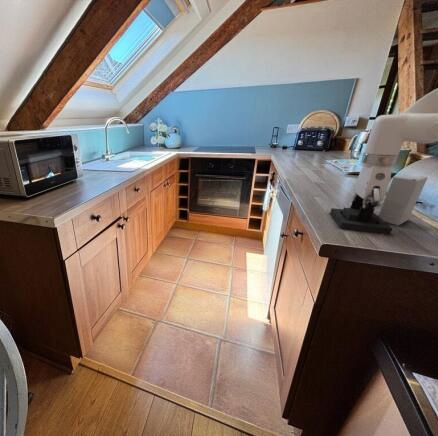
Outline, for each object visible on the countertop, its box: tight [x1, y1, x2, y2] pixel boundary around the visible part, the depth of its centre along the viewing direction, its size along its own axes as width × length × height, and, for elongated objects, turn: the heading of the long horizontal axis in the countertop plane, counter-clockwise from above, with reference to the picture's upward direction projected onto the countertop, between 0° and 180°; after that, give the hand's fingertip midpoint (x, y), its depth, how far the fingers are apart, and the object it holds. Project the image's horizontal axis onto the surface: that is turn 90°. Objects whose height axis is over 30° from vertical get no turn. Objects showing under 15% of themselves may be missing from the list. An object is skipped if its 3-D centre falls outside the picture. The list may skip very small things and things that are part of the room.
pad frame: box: [329, 207, 393, 235], centre depth 79 cm, size 12×14×2 cm
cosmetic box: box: [377, 173, 429, 226], centre depth 78 cm, size 8×6×15 cm
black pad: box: [342, 207, 378, 224], centre depth 78 cm, size 7×7×2 cm
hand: (359, 215), depth 78 cm, fingers closed on black pad, 7 cm apart
